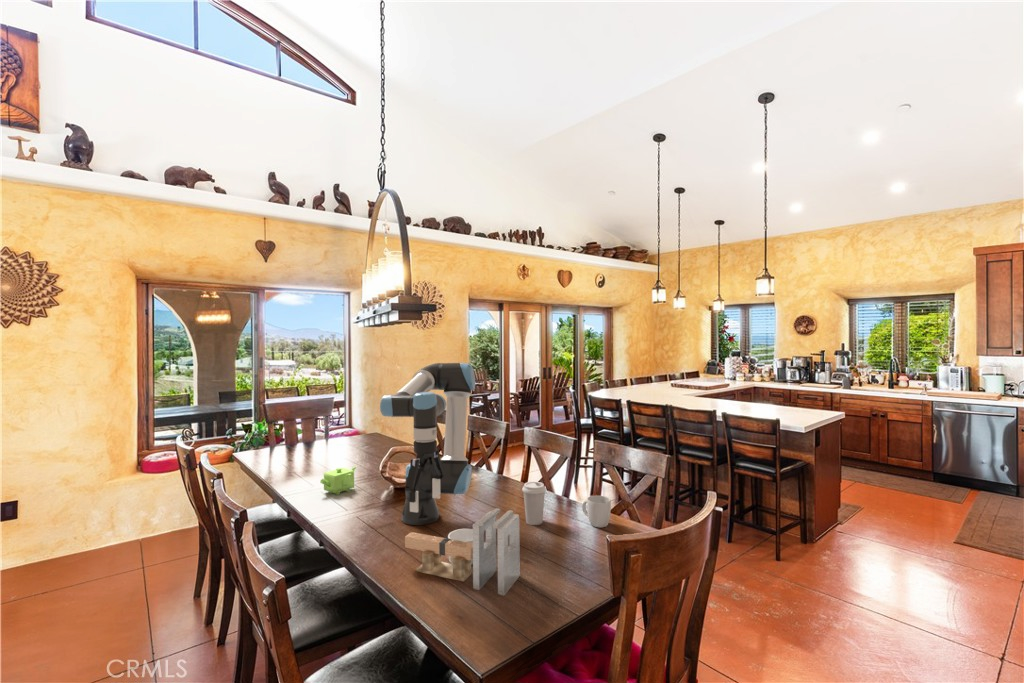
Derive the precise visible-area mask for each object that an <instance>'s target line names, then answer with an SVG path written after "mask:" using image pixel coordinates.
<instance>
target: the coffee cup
mask: <svg viewBox="0 0 1024 683" xmlns="http://www.w3.org/2000/svg"><path fill="white" fill-rule="evenodd" d="M521 490H522V492H523V501H524V512H525V513H524V514H525V522H526V524H528V525H531V526H539V525H542V524H543V522H544V521H543V519H544V509H545V508H544V507H545V506H544V504H545V495H546V492H547V488H546V486H545V484H544V483H543V482H541V481H540V482H539V481H528V482H527V481H526V482H525V483H523V486H522V489H521Z"/></svg>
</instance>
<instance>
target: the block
mask: <svg viewBox="0 0 1024 683" xmlns="http://www.w3.org/2000/svg"><path fill="white" fill-rule="evenodd" d="M404 548H405V549H406V548H407V549H411V550H417V551H421V552H424V551H426V552H431V553H436V554H439V555H441V556H446V557H449V556H451V557H456V558H461V559H466V560H472V559H473V543H469V542H463V541H458V540H452V539H449V538H448V537H441V536H435V535H430V534H426V533H425V534H424V533H418V532H412V531H411V532H409V533H408V534H407V535H405V536H404Z"/></svg>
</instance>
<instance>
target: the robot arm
mask: <svg viewBox="0 0 1024 683" xmlns="http://www.w3.org/2000/svg"><path fill="white" fill-rule="evenodd" d="M406 383H407V382H406ZM475 389H476V376H475V371H474V368H473V365H472V364H471V363H466V362H447V363H446V362H437V363H436V362H435V363H431V364H429V365H426V366H424V367H422V368H420V369H419V370H418V371H416V372H414V374H413V376H412V378H411V379H410V380H409V382H408V383H407V384H405V385H404V386H403V387H402V388H401V389H399V390H398V391H397V392H396V393H394V394H389V395H388V394H387V395H383V396H382V398H381V400H380V403H379V409H380V413H381V415H382V416H384V417H389V418H390V417H391V418H408V417H409V418H412V417H413V434H412V435H413V437H412V438H413V439H412V440H414V441H413V452H414V454H416V458H410V461H409V462H410V463H409V464H407V465H406V467H405V476H404V478H405V486H404V491H405V502H404V505H403V508H402V510H401V511H402V512H401V521H402V522H403V523H404V524H406V525H410V526H423V525H429V524H432V523H434V522H436V521H438V519H439V518H440V510H439V508H438V504H437V502H436V499H438V500H440V499H441V495H465V494H466V493H467V492H468V490H469V489H470V488H469V487H470V484H471V479H472V475H473V474H472V473H473V470H472V469H473V467H472V465H471V464H469V459H468V458H467V457H466V455H465V454H466V453H465V451H466V436H467V435H466V432H467V411H468V409H467V408H468V398H469V397H470V396H471V395H472V391H474V390H475ZM435 390H436V391H443V394H444V396H445V397H444V396H442V395H441V394H436V393H435V392H432V391H435ZM445 398H446V399H445ZM444 412H445V426H444V427H445V428H444V429H445V430H444V447H443V456H442V457H440V451H439V450H438V440H437V438H438V437H437V435H438V434H437V433H438V431H437V429H438V428H437V421H438V417H439V416H441V415H442V414H444Z"/></svg>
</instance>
